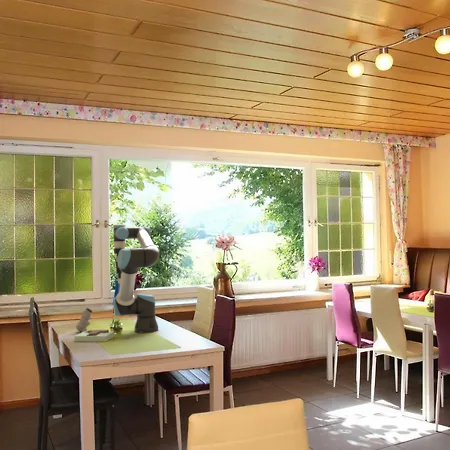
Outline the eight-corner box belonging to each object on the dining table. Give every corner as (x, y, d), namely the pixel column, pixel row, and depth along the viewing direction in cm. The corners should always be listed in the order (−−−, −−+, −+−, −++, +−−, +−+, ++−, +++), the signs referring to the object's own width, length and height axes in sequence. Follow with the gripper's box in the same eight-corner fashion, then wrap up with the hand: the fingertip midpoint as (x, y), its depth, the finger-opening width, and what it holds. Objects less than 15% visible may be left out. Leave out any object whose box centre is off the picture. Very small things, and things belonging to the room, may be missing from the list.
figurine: (88, 333, 334) (87, 309, 334) (73, 332, 336) (73, 309, 336) (94, 330, 343) (94, 307, 343) (80, 330, 345) (79, 307, 345)
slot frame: (114, 336, 322) (114, 331, 322) (105, 341, 307) (105, 336, 307) (84, 336, 324) (84, 331, 324) (74, 341, 310) (74, 336, 310)
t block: (108, 336, 323) (108, 329, 323) (101, 340, 311) (101, 333, 311) (89, 336, 324) (89, 329, 324) (82, 340, 312) (82, 333, 312)
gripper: (117, 247, 358) (118, 282, 358) (110, 248, 345) (111, 284, 345) (128, 247, 358) (128, 282, 357) (121, 248, 345) (122, 284, 344)
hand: (120, 283), depth 351 cm, fingers closed
